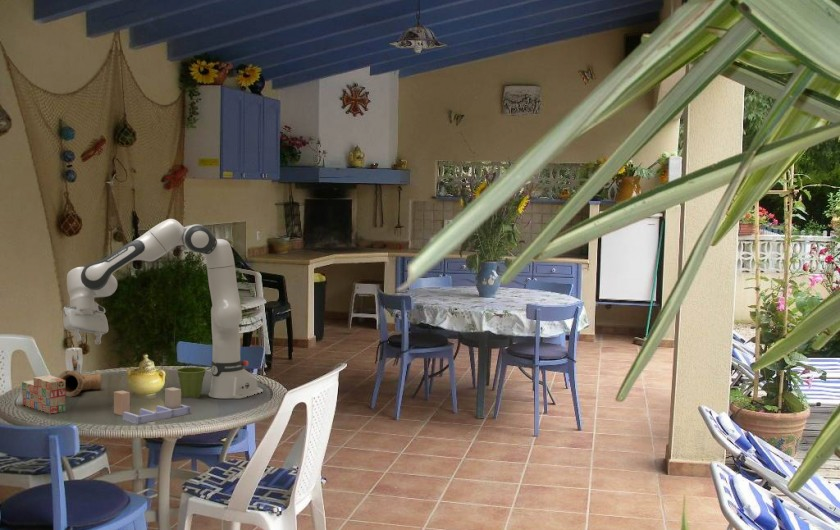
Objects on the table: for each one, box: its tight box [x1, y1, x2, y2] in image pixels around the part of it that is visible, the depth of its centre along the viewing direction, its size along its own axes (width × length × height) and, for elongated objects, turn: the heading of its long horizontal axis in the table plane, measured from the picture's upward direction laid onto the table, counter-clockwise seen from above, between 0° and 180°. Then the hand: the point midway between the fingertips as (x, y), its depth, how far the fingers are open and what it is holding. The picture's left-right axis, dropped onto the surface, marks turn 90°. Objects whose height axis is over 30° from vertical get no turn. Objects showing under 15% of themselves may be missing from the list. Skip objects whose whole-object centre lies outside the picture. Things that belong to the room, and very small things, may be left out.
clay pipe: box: [58, 370, 103, 398], centre depth 365 cm, size 19×11×15 cm
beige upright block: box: [164, 386, 182, 409], centre depth 330 cm, size 4×5×9 cm
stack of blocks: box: [21, 374, 66, 415], centre depth 338 cm, size 21×6×12 cm, turn 50°
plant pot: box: [175, 366, 207, 399], centre depth 360 cm, size 12×12×11 cm
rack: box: [122, 403, 192, 425], centre depth 325 cm, size 22×10×4 cm, turn 139°
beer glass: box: [64, 347, 84, 374], centre depth 383 cm, size 7×7×15 cm
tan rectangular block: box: [113, 389, 131, 417], centre depth 328 cm, size 4×5×9 cm
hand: (89, 342), depth 337 cm, fingers open, 8 cm apart
